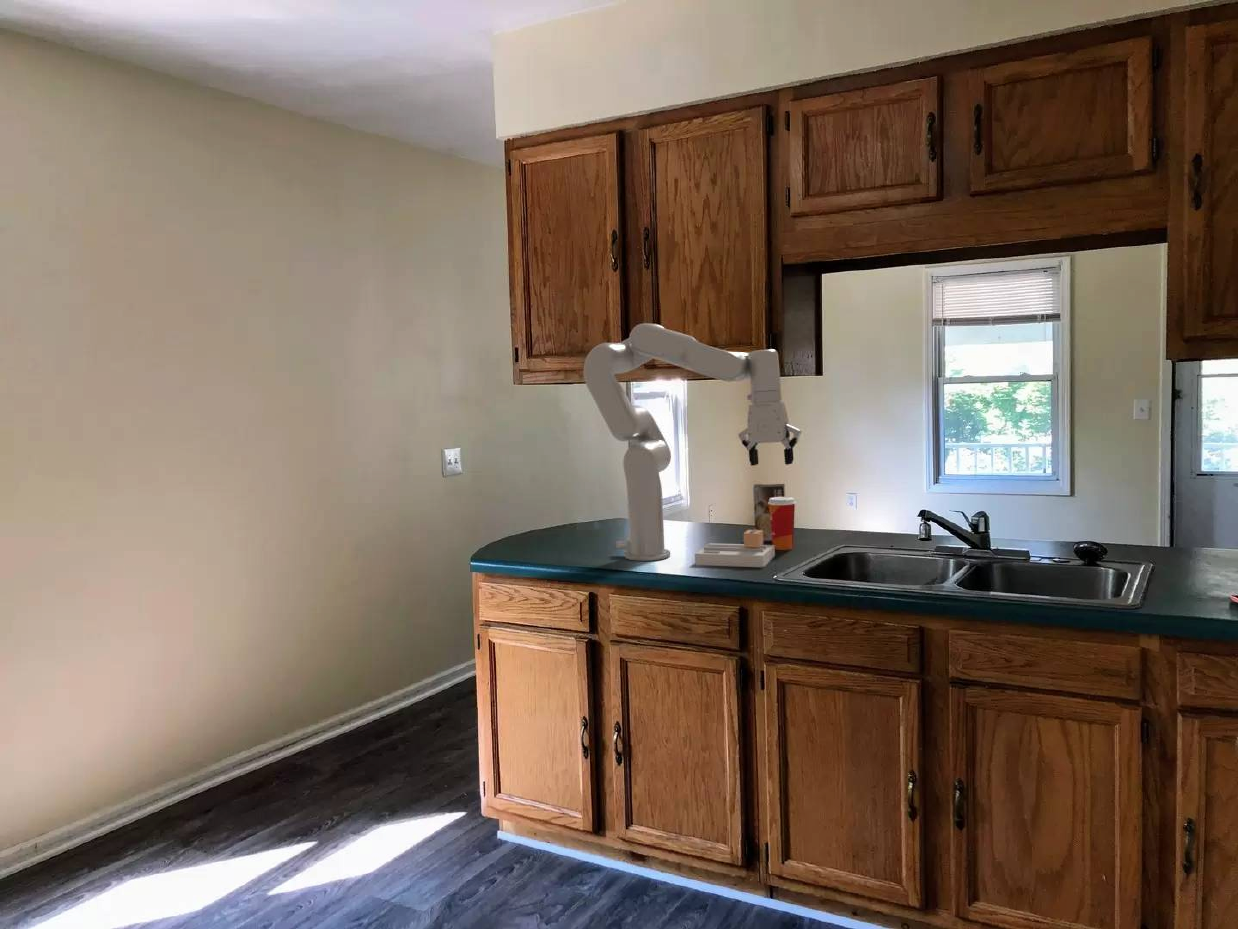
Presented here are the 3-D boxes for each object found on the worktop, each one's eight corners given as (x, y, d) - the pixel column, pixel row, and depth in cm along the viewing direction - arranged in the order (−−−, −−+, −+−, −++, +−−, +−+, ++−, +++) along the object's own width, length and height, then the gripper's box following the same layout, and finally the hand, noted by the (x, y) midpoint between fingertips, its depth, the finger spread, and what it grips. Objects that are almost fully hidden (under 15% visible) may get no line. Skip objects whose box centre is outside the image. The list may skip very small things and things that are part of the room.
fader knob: (744, 551, 241) (743, 532, 240) (748, 547, 246) (747, 528, 245) (759, 551, 240) (758, 532, 239) (763, 547, 244) (762, 529, 244)
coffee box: (787, 537, 274) (786, 483, 273) (786, 541, 268) (784, 486, 267) (756, 537, 277) (754, 483, 275) (754, 541, 270) (752, 486, 269)
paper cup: (777, 544, 264) (776, 495, 262) (802, 546, 259) (800, 497, 257) (763, 549, 258) (762, 499, 256) (788, 552, 253) (786, 501, 251)
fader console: (695, 564, 241) (694, 550, 241) (709, 554, 254) (709, 540, 254) (763, 567, 235) (763, 552, 235) (774, 556, 248) (774, 542, 248)
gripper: (729, 401, 239) (734, 467, 241) (791, 396, 229) (796, 465, 231) (743, 399, 245) (748, 463, 247) (804, 395, 235) (808, 461, 237)
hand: (771, 464), depth 239 cm, fingers open, 9 cm apart
